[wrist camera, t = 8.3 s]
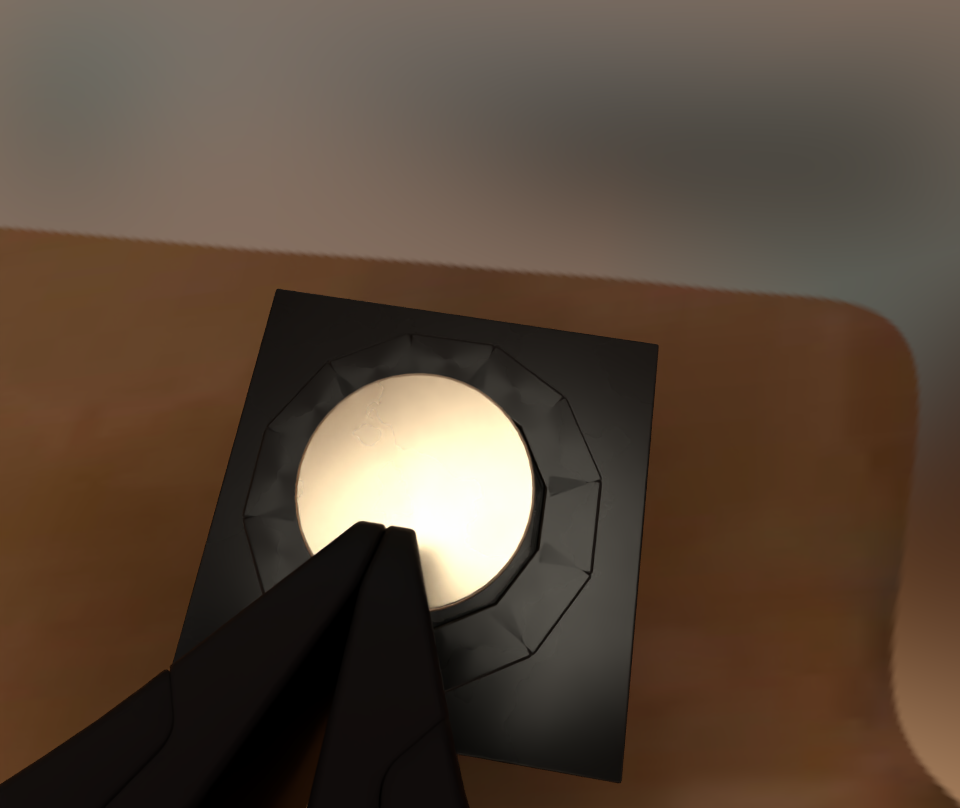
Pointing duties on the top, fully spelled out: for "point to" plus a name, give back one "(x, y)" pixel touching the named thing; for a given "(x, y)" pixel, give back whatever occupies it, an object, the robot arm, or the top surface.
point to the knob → (422, 478)
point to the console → (544, 553)
